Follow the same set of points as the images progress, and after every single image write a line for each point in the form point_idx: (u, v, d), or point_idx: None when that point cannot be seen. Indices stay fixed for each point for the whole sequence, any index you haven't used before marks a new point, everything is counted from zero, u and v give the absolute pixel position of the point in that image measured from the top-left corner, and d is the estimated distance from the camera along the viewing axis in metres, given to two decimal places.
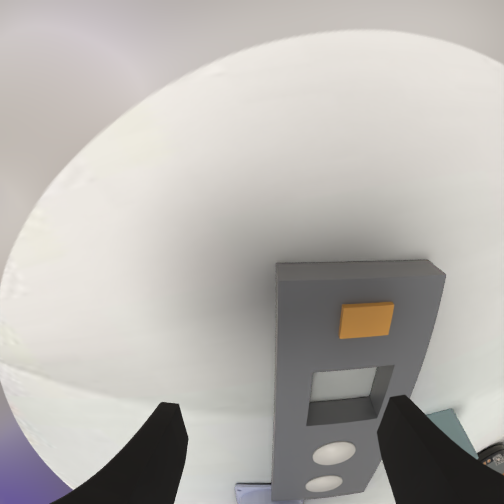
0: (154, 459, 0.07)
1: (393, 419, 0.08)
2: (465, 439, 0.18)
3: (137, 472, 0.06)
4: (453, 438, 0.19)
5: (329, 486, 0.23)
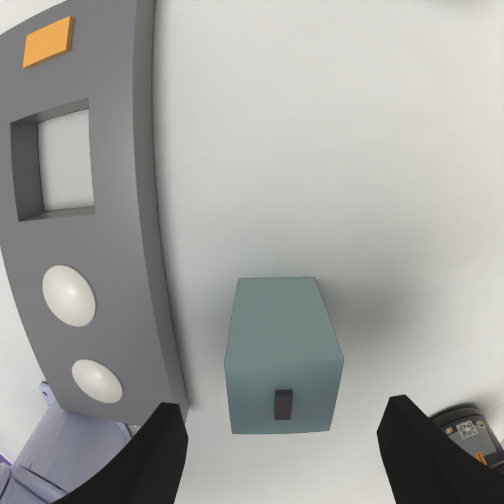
0: (154, 459, 0.07)
1: (393, 419, 0.08)
2: (321, 320, 0.12)
3: (136, 472, 0.06)
4: (290, 314, 0.13)
5: (106, 391, 0.16)
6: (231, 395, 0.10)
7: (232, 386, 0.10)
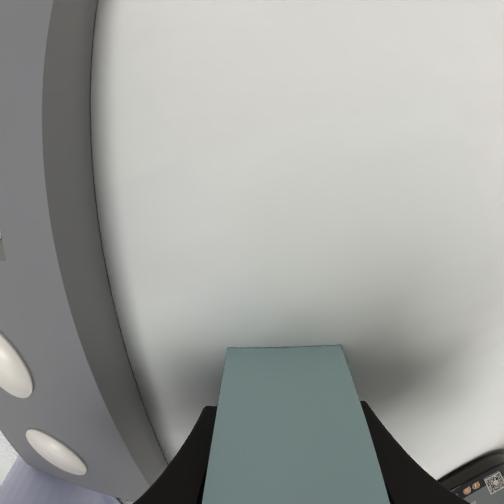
0: None
1: None
2: (357, 444, 0.06)
3: (195, 482, 0.06)
4: (308, 431, 0.07)
5: (68, 464, 0.10)
6: None
7: None
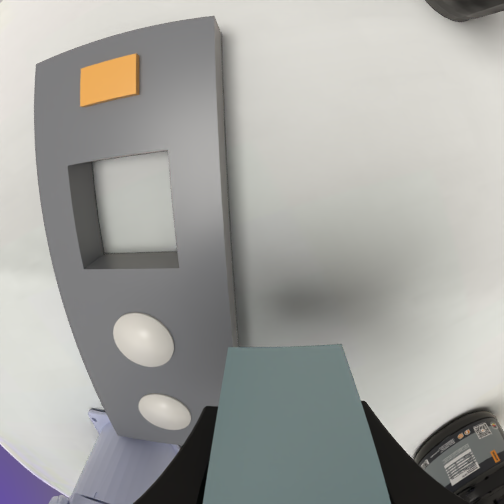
0: None
1: None
2: (358, 443, 0.06)
3: (194, 481, 0.06)
4: (309, 430, 0.07)
5: (174, 420, 0.18)
6: None
7: None
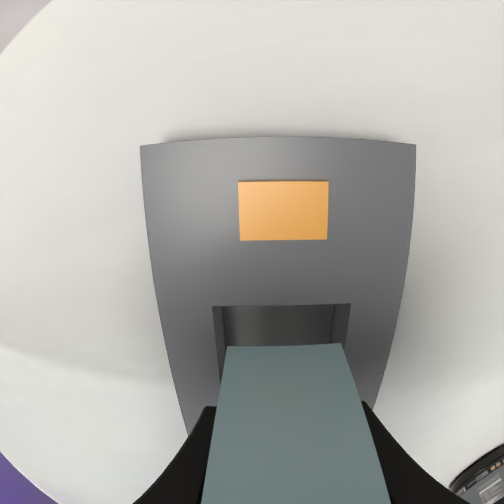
0: None
1: None
2: (358, 442, 0.06)
3: (195, 482, 0.06)
4: (308, 429, 0.07)
5: None
6: None
7: None
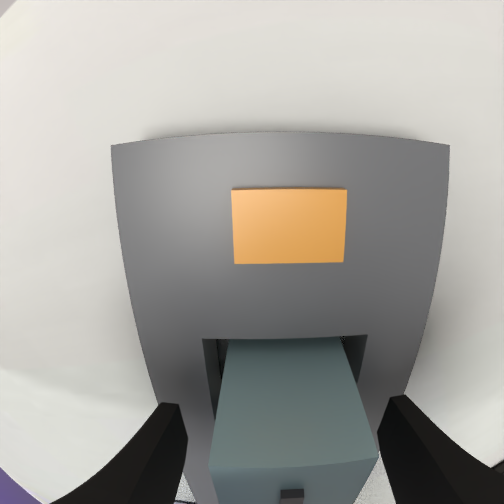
0: (154, 459, 0.07)
1: (393, 419, 0.08)
2: (345, 389, 0.08)
3: (136, 472, 0.06)
4: (302, 379, 0.09)
5: None
6: (221, 493, 0.06)
7: (221, 485, 0.06)
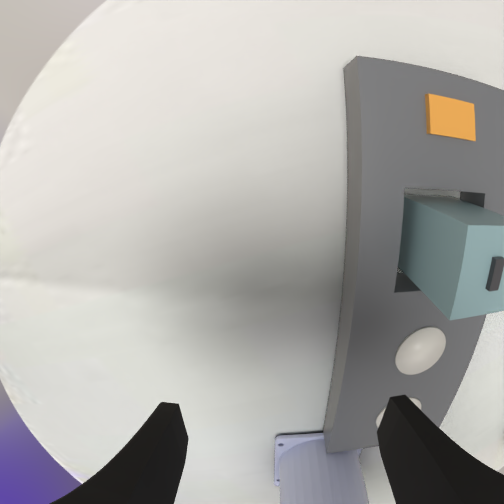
0: (154, 459, 0.07)
1: (393, 419, 0.08)
2: (490, 212, 0.11)
3: (136, 472, 0.06)
4: (467, 208, 0.12)
5: None
6: (464, 265, 0.10)
7: (467, 254, 0.10)
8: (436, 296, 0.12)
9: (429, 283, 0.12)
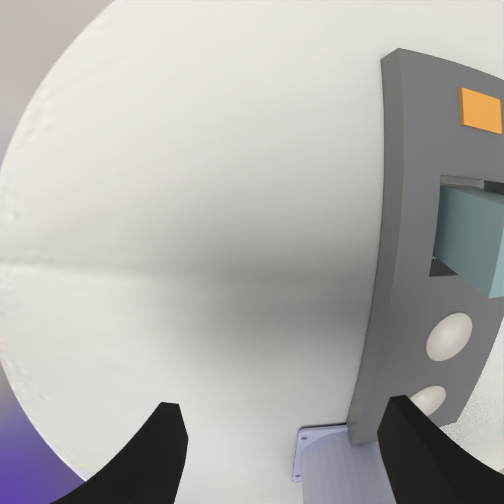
0: (154, 459, 0.07)
1: (393, 419, 0.08)
2: None
3: (137, 472, 0.06)
4: (496, 196, 0.12)
5: (429, 407, 0.18)
6: (502, 244, 0.09)
7: None
8: (473, 277, 0.11)
9: (465, 265, 0.12)
